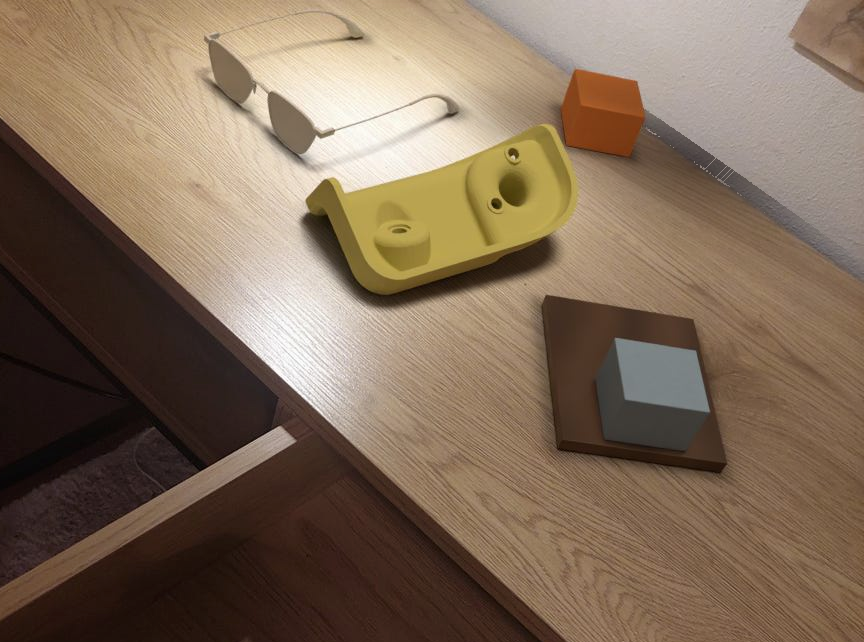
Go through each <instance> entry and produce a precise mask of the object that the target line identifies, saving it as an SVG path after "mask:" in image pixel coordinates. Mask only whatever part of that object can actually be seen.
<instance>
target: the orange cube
mask: <svg viewBox="0 0 864 642" xmlns="http://www.w3.org/2000/svg"><path fill="white" fill-rule="evenodd" d="M568 83H569V84H568V86H567V90H566V92H565V95H564V97H563V101H562V104H561V106H560V113H561V119H562V126H563V132H564V139H565V146H567V147H573V148H578V149H584V150H589V151H595V152H599V153H605V154H611V155H616V156H620V157H621V156H622V157H627V158H630V155H631V154H632V152H633V149H634V146H635V144H636V142H637V139H638V138H639V135H640V132H641V130H642V127H643V125H644V123H645V120H646V112H645V109H644V103H643V100H642V95H641V91H640V86H639V83H638V80H634V79H631V78H630V79H629V78H623V77H619V76H614V75H610V74H609V75H608V74H604V73H599V72H593V71H589V70H583V69H579V68H574V69H573V72H572V75H571V78H570V81H569V82H568Z"/></svg>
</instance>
